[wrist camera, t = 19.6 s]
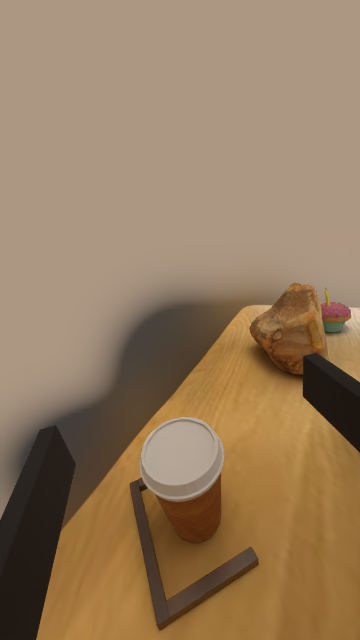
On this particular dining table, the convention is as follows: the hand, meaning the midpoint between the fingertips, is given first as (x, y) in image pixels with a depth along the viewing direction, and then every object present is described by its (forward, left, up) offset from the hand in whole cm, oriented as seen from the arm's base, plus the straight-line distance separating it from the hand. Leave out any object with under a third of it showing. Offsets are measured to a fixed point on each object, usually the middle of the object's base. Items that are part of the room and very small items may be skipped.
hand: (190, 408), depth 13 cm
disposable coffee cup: (-1, -10, -26) cm, 28 cm away
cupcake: (-53, -35, -26) cm, 68 cm away
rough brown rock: (-36, -33, -26) cm, 55 cm away
